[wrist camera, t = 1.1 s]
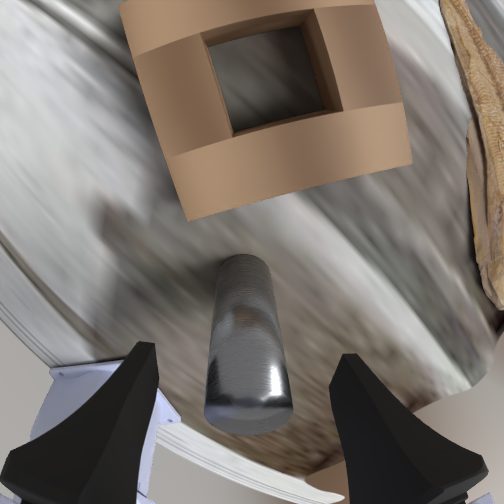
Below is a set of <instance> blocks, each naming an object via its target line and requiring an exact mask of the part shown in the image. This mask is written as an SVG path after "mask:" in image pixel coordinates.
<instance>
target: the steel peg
mask: <svg viewBox="0 0 504 504" xmlns="http://www.w3.org/2000/svg"><path fill="white" fill-rule="evenodd" d="M292 414H293V404H292V397H291V391H290V385H289V379H288V373H287V367H286V361H285V355H284V349H283V343H282V337H281V332H280V326H279V320H278V314H277V308H276V303H275V297H274V291H273V286H272V280H271V274H270V270H269V268H268V266H267V265H266V264H265V262H263V261H262V260H261V259H259V258H258V257H255V256H253V255H248V254H241V255H236V256H233V257H231V258H229V259H227V260H226V261H225V262H224V263H223V264H222V265H221V266H220V268H219V270H218V274H217V282H216V291H215V300H214V309H213V318H212V328H211V338H210V348H209V359H208V369H207V380H206V392H205V404H204V415H205V418H206V419H207V421H208V422H209V423H210V424H211V425H212V426H214V427H215V428H217V429H219V430H221V431H224V432H227V433H231V434H237V435H257V434H263V433H267V432H270V431H273V430H275V429H278V428H280V427H281V426H283V425H284V424H286V423H287V422H288V421H289V419H290V418H291V416H292Z"/></svg>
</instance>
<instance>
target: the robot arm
mask: <svg viewBox="0 0 504 504" xmlns="http://www.w3.org/2000/svg"><path fill="white" fill-rule="evenodd" d="M49 373H50V375H51V376H52V378H53V379H54V382H53V384H52V386H51V388H50V390H49V392H48V394H47V396H46V398H45V400H44V403H43V404H42V407H41V409H40V411H39V413H38V415H37V418H36V420H35V422H34V425H33V427H32V430H31V435H30V442H28V443H26V444H24V445H22V446H20V447H18V448H16V449H13V450H11V451H10V453H9V455H8V457H7V458H6V461H5V464H4V466H3V469H2V472H1V475H0V482H1V483H2V484H3V485H4V486H5V487H7V488H8V489H9V490H11V491H12V492H13V493H14V494H15V495H14V498H13V500H11V499H9V498H8V497H6V496H4V495H2V494H0V504H155V503H156V502H155V501H152V500H149V499H147V494H148V487H149V480H150V474H151V468H152V461H153V455H154V449H155V444H156V438H157V432H158V427H159V424H171V423H179V422H180V421H181V417H180V415H179V414H178V413H177V412H176V410H175V409H174V408H173V407H172V405H171V404H170V403H169V401H168V400H167V399H166V398H165V396H164V395H163V394H162V392H161V391H160V390H159V388H158V383H159V373H158V366H157V358H156V350H155V343H149V342H142V341H139V342H137V343H136V345H135V346H134V347H133V349H132V350H131V351H130V353H129V354H128V355H127V357H126V358H125V359H124V360H118V361H111V362H103V363H95V364H87V365H78V366H69V367H59V368H51V369H50V371H49ZM329 392H330V400H331V407H332V411H333V415H334V419H335V422H336V426H337V430H338V433H339V437H340V441H341V444H342V448H343V452H344V456H345V461H346V468H347V476H348V485H349V497H350V504H466V503H465V500H466V499H467V498H468V495H467V492H466V491H468V490H469V489H471V488H472V487H473V486H475V485H476V484H477V483H479V482H480V481H481V480H482V479H484V478H485V477H486V476H487V474H488V472H489V471H488V469H487V466H486V464H485V462H484V460H483V457H482V456H481V455H479V454H477V453H474V452H472V451H470V450H467V449H465V448H463V447H461V446H459V445H457V444H455V443H454V442H452V441H450V440H448V439H447V438H445V437H443V436H441V435H440V434H439V433H437V432H436V431H434V430H433V429H431V428H430V427H429V426H427V425H426V424H424V423H423V422H422V421H421V420H420V419H418V418H417V417H416V416H415V415H414V414H412V413H411V412H410V411H409V410H408V409H407V408H406V407H405V406H404V405H403V404H402V403H401V402H400V401H399V400H398V399H397V398H396V397H395V396H394V395H393V394H392V393H391V392H390V391H389V390H388V389H387V388H386V387H385V386H384V384H383V383H382V382H381V381H380V380H379V379H378V378H377V376H376V375H375V374H374V373H373V372H372V371H371V370H370V368H369V367H368V366H367V365H366V364H365V363H364V361H363V360H362V359H361V358H360V357H359V356H358V355H357V354H342V357H341V359H340V362H339V364H338V366H337V369H336V371H335V374H334V376H333V378H332V381H331V383H330V385H329ZM469 504H495V503H494V500H493V498H492V495H491V493H487V494H485V495H483V496H482V497H480V498H478V499H476V500H474V501H472V502H470V503H469Z"/></svg>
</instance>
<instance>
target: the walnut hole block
mask: <svg viewBox="0 0 504 504" xmlns="http://www.w3.org/2000/svg"><path fill="white" fill-rule="evenodd" d="M118 8H119V11H120V15H121V19H122V23H123V26H124V30H125V33H126V37H127V40H128V44H129V47H130V51H131V54H132V58H133V61H134V65H135V68H136V71H137V74H138V78H139V81H140V84H141V87H142V91H143V94H144V97H145V100H146V103H147V106H148V110H149V113H150V116H151V119H152V122H153V125H154V128H155V131H156V134H157V137H158V140H159V143H160V146H161V149H162V152H163V154H164V157H165V160H166V163H167V166H168V169H169V172H170V174H171V177H172V180H173V183H174V186H175V188H176V191H177V194H178V197H179V199H180V202H181V205H182V208H183V210H184V213H185V216H186V218H187V221H188V222H189V221H192V220H195V219H199V218H202V217H205V216H209V215H212V214H216V213H219V212H222V211H226V210H229V209H233V208H236V207H240V206H244V205H247V204H251V203H254V202H258V201H262V200H265V199H269V198H273V197H276V196H280V195H284V194H288V193H291V192H295V191H299V190H303V189H307V188H311V187H315V186H319V185H323V184H327V183H331V182H335V181H339V180H343V179H347V178H351V177H356V176H360V175H364V174H369V173H373V172H377V171H382V170H386V169H391V168H395V167H400V166H405V165H409V164H412V157H411V149H410V142H409V136H408V130H407V124H406V118H405V113H404V107H403V102H402V97H401V93H400V88H399V84H398V80H397V75H396V71H395V67H394V63H393V60H392V56H391V52H390V49H389V45H388V42H387V38H386V35H385V32H384V29H383V26H382V22H381V19H380V16H379V14H378V11H377V8H376V5H375V2H374V0H127V1H125V2H123V3H121V4H119V5H118ZM297 26H300V28H301V31H302V34H303V37H304V41H305V44H306V47H307V50H308V53H309V57H310V60H311V63H312V67H313V70H314V74H315V77H316V81H317V84H318V88H319V92H320V96H321V99H322V103H323V107H324V110H323V111H318V112H313V113H309V114H304V115H300V116H295V117H291V118H287V119H282V120H278V121H274V122H270V123H266V124H262V125H259V126H255V127H251V128H248V129H244V130H240V131H237V132H234V131H233V128H232V125H231V122H230V118H229V115H228V112H227V108H226V105H225V102H224V99H223V95H222V92H221V89H220V86H219V83H218V79H217V76H216V73H215V70H214V67H213V63H212V60H211V57H210V54H209V51H208V48H207V47H210V46H213V45H216V44H220V43H224V42H227V41H231V40H235V39H239V38H243V37H247V36H251V35H255V34H260V33H264V32H269V31H274V30H279V29H285V28H291V27H297Z"/></svg>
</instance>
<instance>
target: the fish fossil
mask: <svg viewBox="0 0 504 504" xmlns="http://www.w3.org/2000/svg"><path fill="white" fill-rule="evenodd" d="M440 7H441V15H442V17H443V19H444V22H445V26H446V29H447V32H448V34H449V37H450V41H451V46H452V50H453V53H454V56H455V62H456V65H457V68H458V71H459V74H460V78H461V83H462V86H463V89H464V91H465V93H466V96H467V100H468V103H469V106H470V109H471V113H472V118H471V120H469V123H468V130H467V135H466V136H467V146H466V147H467V152H468V157H467V168H466V174H467V179H468V184H469V190H470V202H471V213H472V223H473V231H474V235H475V237H474V243H475V251H476V262H477V263H478V266H479V270H480V271H481V273H480V275H481V277H482V284H483V289H484V291H485V293H486V295H487V297H488V298H489V299H490V300H491V301H492V302H493V303H494V304H495V306H496V307H497V308H498V310H504V63H502V62H501V60H500V59H499V57H498V56H497V55H496V53H495V51H494V50H493V48H492V47H490V46H488V45H487V44H486V42H485V41H484V40H483V39H482V37H481V35H483V34H482V31H481V29H480V28H479V27H477V26H476V24H475V22H474V21H473V19H472V17H471V13H470V11H469V8H468V5H467V3H466V2H465V1H464V0H440Z"/></svg>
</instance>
